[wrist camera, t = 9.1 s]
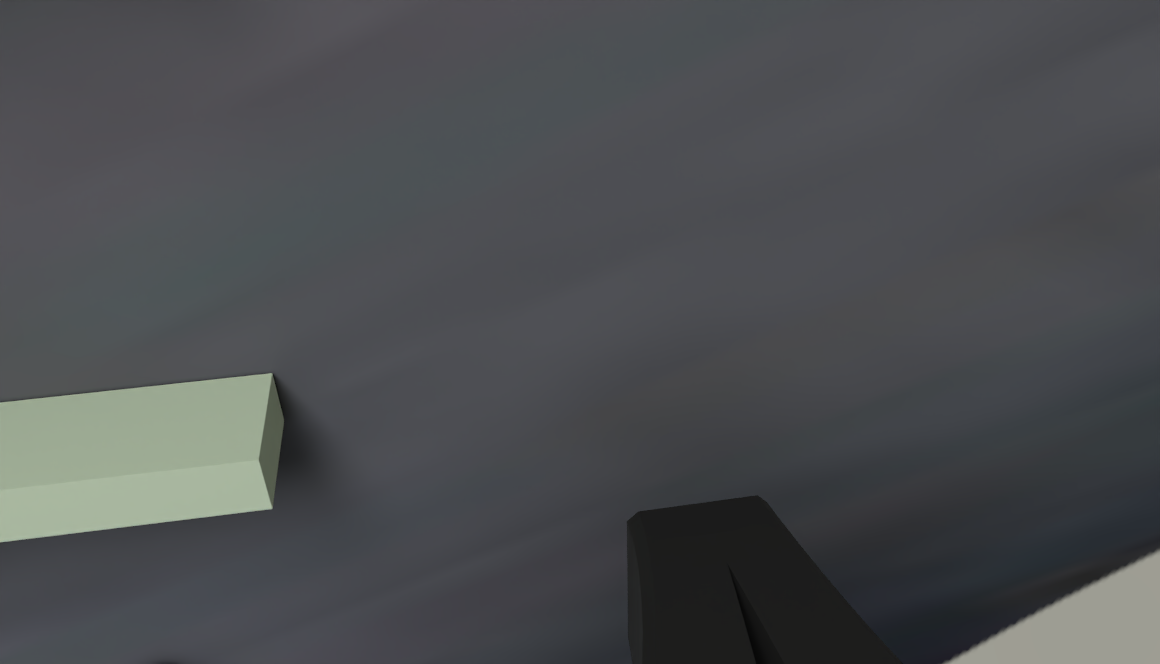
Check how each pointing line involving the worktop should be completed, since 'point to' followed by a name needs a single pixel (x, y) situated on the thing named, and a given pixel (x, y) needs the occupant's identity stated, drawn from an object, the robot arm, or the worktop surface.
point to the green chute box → (138, 456)
